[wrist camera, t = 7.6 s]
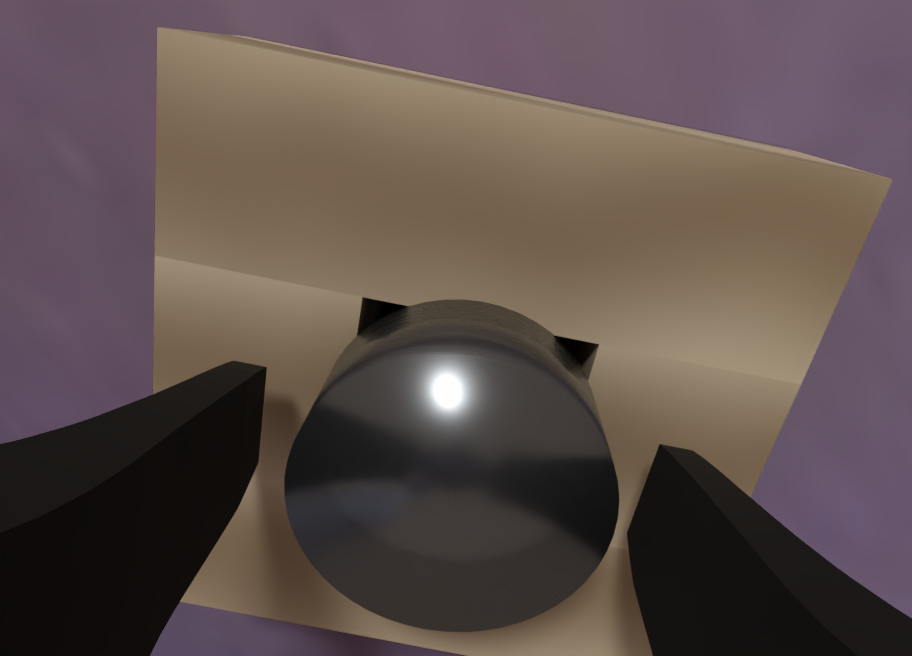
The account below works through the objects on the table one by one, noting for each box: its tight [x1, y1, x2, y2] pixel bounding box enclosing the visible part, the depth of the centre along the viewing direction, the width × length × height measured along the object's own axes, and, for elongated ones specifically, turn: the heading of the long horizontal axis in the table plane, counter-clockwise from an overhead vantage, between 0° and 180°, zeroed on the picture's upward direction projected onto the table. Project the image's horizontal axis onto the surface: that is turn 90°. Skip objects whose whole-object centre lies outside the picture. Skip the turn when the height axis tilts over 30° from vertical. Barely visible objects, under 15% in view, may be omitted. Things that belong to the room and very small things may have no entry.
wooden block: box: [153, 27, 893, 656], centre depth 14 cm, size 12×12×4 cm
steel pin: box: [284, 299, 619, 632], centre depth 13 cm, size 5×5×6 cm
